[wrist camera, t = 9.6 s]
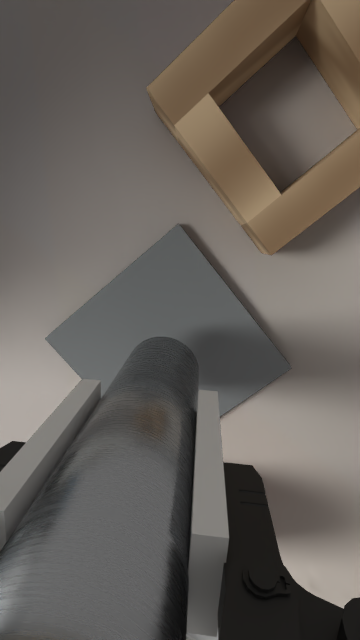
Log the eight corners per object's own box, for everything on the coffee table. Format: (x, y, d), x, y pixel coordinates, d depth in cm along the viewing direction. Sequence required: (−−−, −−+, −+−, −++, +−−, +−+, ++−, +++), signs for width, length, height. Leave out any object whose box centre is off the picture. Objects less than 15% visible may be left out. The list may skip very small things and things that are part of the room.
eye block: (155, 112, 18) (146, 88, 15) (306, -34, 16) (329, -96, 13) (261, 252, 19) (271, 255, 16) (412, 134, 17) (455, 113, 14)
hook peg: (120, 405, 19) (-250, 1126, 3) (122, 327, 17) (-415, 892, 2) (201, 413, 18) (180, 1229, 3) (208, 334, 17) (226, 1022, 2)
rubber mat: (48, 335, 21) (44, 338, 21) (179, 224, 19) (178, 223, 18) (157, 454, 23) (155, 459, 22) (289, 364, 21) (291, 367, 20)
